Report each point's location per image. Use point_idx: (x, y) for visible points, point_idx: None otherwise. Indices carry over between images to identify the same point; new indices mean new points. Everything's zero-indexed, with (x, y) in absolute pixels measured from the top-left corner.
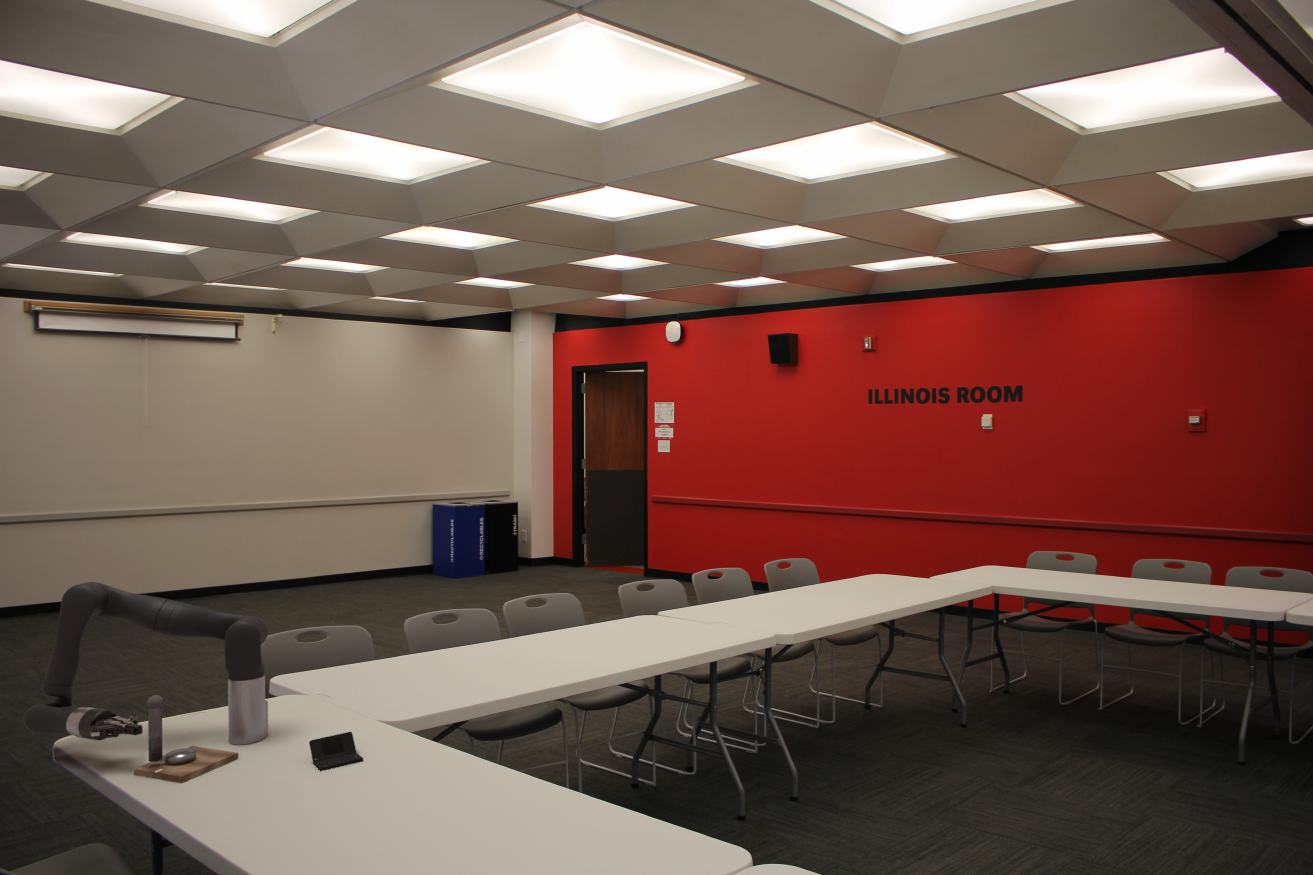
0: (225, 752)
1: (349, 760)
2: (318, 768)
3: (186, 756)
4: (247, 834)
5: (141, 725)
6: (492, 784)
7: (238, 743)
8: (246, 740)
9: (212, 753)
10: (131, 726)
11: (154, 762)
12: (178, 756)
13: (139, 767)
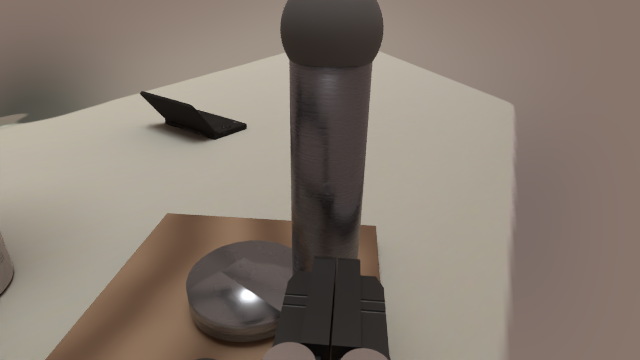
0: (161, 237)
1: (209, 114)
2: (240, 128)
3: (278, 245)
4: (465, 116)
5: (315, 258)
6: (265, 68)
7: (7, 281)
8: (9, 257)
9: (167, 260)
10: (360, 299)
11: None
12: (289, 260)
13: None
